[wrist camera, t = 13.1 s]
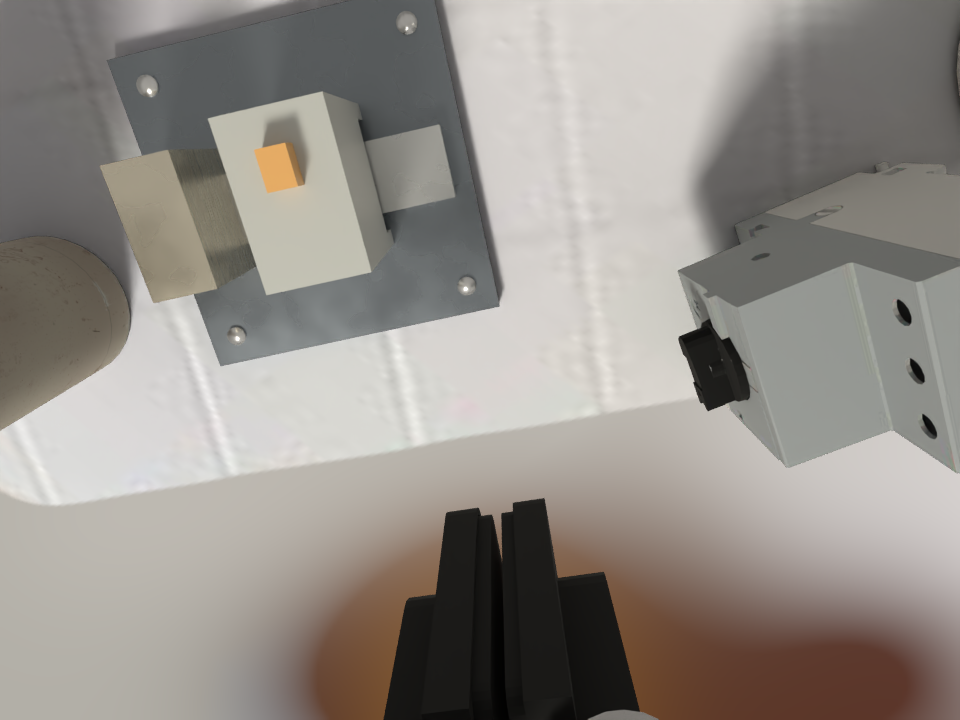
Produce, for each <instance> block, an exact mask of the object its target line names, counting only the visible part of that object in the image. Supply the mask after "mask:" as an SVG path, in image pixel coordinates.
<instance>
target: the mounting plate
mask: <svg viewBox="0 0 960 720" xmlns="http://www.w3.org/2000/svg"><path fill="white" fill-rule="evenodd" d="M107 62H108V64H109V67H110V70H111V72H112V75H113V78H114V81H115V83H116V86H117V89H118V91H119V94H120V97H121V99H122V102H123V105H124V107H125V110H126V113H127V116H128V118H129V121H130V124H131V126H132V129H133V132H134V134H135V137H136V140H137V142H138V145H139V148H140V151H141V153H142V156H139V157H135V158H130V159H126V160H122V161H118V162H113V163H109V164H105V165H101V166H100V169H101V171H102V174H103V176H104V179H105V181H106V184H107V186H108V189H109V191H110V194H111V196H112V199H113V202H114V204H115V207H116V209H117V212H118V214H119V217H120V219H121V222H122V224H123V227H124V229H125V232H126V235H127V237H128V240H129V242H130V245H131V247H132V250H133V252H134V255H135V257H136V260H137V262H138V265H139V268H140V270H141V273H142V275H143V278H144V280H145V283H146V285H147V288H148V290H149V293H150V295H151V298H152V301H153V303H156V302H161V301H165V300H170V299H174V298H179V297H183V296H188V295H192V294H194V296H195V299H196V301H197V304H198V307H199V309H200V312H201V315H202V317H203V320H204V323H205V326H206V328H207V331H208V334H209V336H210V339H211V342H212V344H213V347H214V350H215V352H216V355H217V358H218V361H219V363H220V366H224V365H229V364H233V363H238V362H243V361H247V360H252V359H257V358H261V357H266V356H271V355H275V354H280V353H285V352H289V351H294V350H299V349H303V348H308V347H313V346H317V345H322V344H327V343H331V342H336V341H341V340H345V339H350V338H355V337H359V336H364V335H369V334H373V333H378V332H382V331H387V330H392V329H396V328H401V327H406V326H410V325H415V324H420V323H424V322H429V321H434V320H438V319H443V318H448V317H452V316H457V315H462V314H466V313H471V312H476V311H480V310H485V309H490V308H494V307H499V301H498V296H497V291H496V286H495V282H494V277H493V272H492V268H491V263H490V258H489V254H488V249H487V244H486V240H485V235H484V230H483V226H482V221H481V216H480V211H479V207H478V202H477V197H476V193H475V188H474V183H473V179H472V174H471V169H470V165H469V160H468V155H467V151H466V146H465V141H464V136H463V132H462V127H461V122H460V118H459V113H458V108H457V104H456V99H455V94H454V90H453V85H452V80H451V76H450V71H449V66H448V61H447V57H446V52H445V47H444V43H443V38H442V33H441V29H440V24H439V19H438V15H437V10H436V5H435V1H434V0H350V1H346V2H342V3H338V4H334V5H330V6H325V7H321V8H317V9H313V10H309V11H305V12H301V13H297V14H293V15H289V16H285V17H281V18H277V19H273V20H269V21H264V22H260V23H256V24H252V25H248V26H244V27H240V28H236V29H232V30H228V31H224V32H220V33H216V34H212V35H208V36H204V37H199V38H195V39H191V40H187V41H183V42H179V43H175V44H171V45H167V46H163V47H159V48H155V49H151V50H147V51H143V52H138V53H134V54H130V55H126V56H122V57H118V58H114V59H110V60H107ZM322 91H323V92H325V93H328V94H331V95H334V96H337V97H340V98H343V99H346V100H349V101H351V102H354V103H357V104H358V105H359V109H360V113H361V117H362V120H359V121H358V122H359V126H360V130H361V134H362V138H363V142H364V145H365V149H366V153H367V157H368V161H369V165H370V168H371V172H372V176H373V180H374V184H375V188H376V192H377V195H378V199H379V203H380V207H381V211H382V215H383V218H384V222H385V226H386V230H389V229H391V233H392V237H393V241H394V244H393V245H392V247H391V248H390V249H389V251H388V252H387V253H386V254H385V256H384V257H383V258H382V260H381V261H380V262H379V263H378V265H377V266H376V267H375V269H374V270H373V271H372V272H371V273H366V274H362V275H357V276H352V277H348V278H343V279H339V280H334V281H329V282H325V283H320V284H316V285H311V286H307V287H302V288H297V289H293V290H288V291H284V292H279V293H274V294H270V295H266V293H265V290H264V286H263V283H262V280H261V277H260V274H259V271H258V268H257V265H256V262H255V259H254V256H253V253H252V250H251V247H250V244H249V241H248V238H247V235H246V232H245V229H244V226H243V223H242V220H241V217H240V214H239V211H238V208H237V205H236V202H235V199H234V196H233V193H232V190H231V187H230V184H229V181H228V178H227V175H226V172H225V169H224V166H223V163H222V160H221V157H220V154H219V151H218V148H217V145H216V142H215V139H214V136H213V133H212V130H211V127H210V124H209V121H208V118H212V117H216V116H220V115H224V114H229V113H233V112H237V111H241V110H245V109H250V108H254V107H258V106H262V105H267V104H271V103H275V102H279V101H284V100H288V99H292V98H296V97H301V96H305V95H309V94H313V93H318V92H322Z"/></svg>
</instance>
